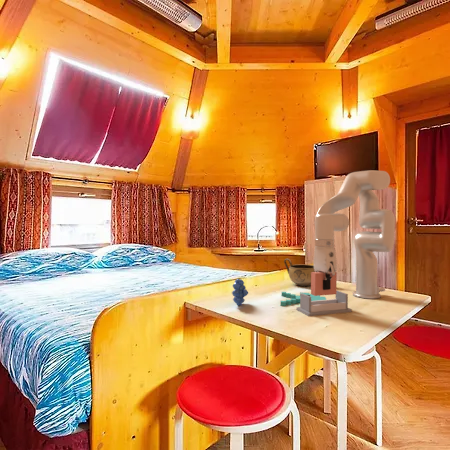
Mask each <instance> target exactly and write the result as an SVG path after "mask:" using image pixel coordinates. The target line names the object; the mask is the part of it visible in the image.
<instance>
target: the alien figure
mask: <svg viewBox="0 0 450 450" xmlns="http://www.w3.org/2000/svg"><path fill="white" fill-rule="evenodd" d="M300 293H303V294H305V295H308V296H310V297H311V301H317V300H327V298H326V296H321V295H320V296H314V295H312V294H311V292H300ZM300 293H299V294H300ZM281 297H285V298H288V299H285V300H280V307H286V306H291V305H296V304H300V295H297V294H293V293H291V292H287V291H281ZM289 298H290V299H289Z"/></svg>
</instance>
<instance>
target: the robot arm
mask: <svg viewBox="0 0 450 450" xmlns="http://www.w3.org/2000/svg"><path fill="white" fill-rule="evenodd" d="M390 184H391V177H390V174H389V173H388V172H387V171H386V170H371V169H370V170H361V171H360V170H359V171H353V172H350V173H348V174H347V175H346V177H345V178H344V180H343V182H342V184H341V186H340V188H339V190H338V191H337V194H335V195H334V196H332V197H331V198H329V199H328V200H327V201H325V202H324V203H323V204H322V205H321V206H320V207H319V209H318V210H317V212H316V214H315V215H314V222H313V225H314V250H313V265H314V271H315V272H324V280H323V290H330V289H331V279H332V276H334V275H335V272H337V270H338V269H337V267H338V266H337V264H338V263H337V253H336V249H335V232H343V231H345V230H347V229H348V227H349V225H350V219H349V217H348V216H347V215H346V214H344V213H337V212H338V211H342V210H345V209H348V208H349V207H352V206H353V205H354V204H355V203H356V201H357V199H358V198H359V209H358V211H359V215H358V224H359V226H360V228H362V229H367V230H369V229H371V230H372V229H373V230H381V231H359V232H357V233H355V236H354V238H353V243H354V248H355V256H356V257H355V260H356V261H355V265H356V266H355V271H356V272H355V290H354V291H353V292H352V295H353V296H354V297H357V298H362V299H368V300H369V299H375V300H376V299H380V298H381V297H382V294H381V293H380V292H385V291H386V288H385V287H384V286H383V287H380V286H378V259H377V256H376V255H375V253H374V252H376V253H377V252H379V253H389V252H392V250H393V249H394V245H395V244H394V243H395V231H396V230H395V229H396V227H395V226H396V218H395V217H396V216H395V214H394V212H393V210H391V209H387V208H381V209H379V204H380V203H379V201H380V200H379V196H378V195H377V193H375V192H374V191H378V190H385V189H387V188H388V187H389V186H390ZM328 271H329V272H328ZM327 274H328V275H327Z"/></svg>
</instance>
